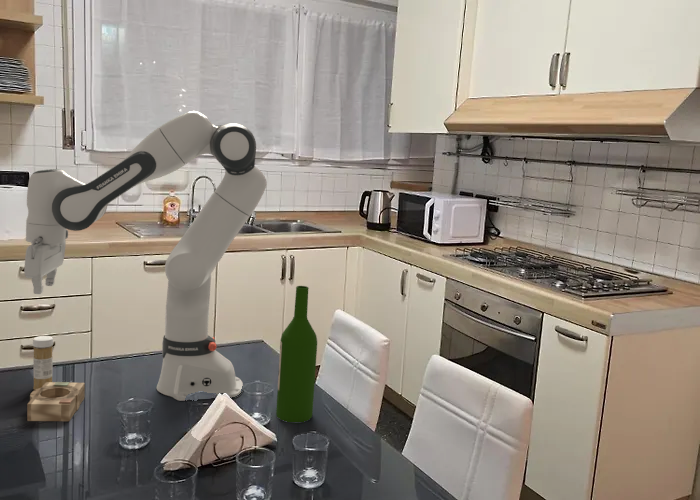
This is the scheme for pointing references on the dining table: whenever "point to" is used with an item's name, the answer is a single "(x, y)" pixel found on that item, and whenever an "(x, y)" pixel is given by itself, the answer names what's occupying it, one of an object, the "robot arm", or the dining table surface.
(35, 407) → the socket block
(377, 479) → the dining table surface
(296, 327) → the wine bottle
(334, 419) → the dining table surface
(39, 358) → the sprinkles bottle
